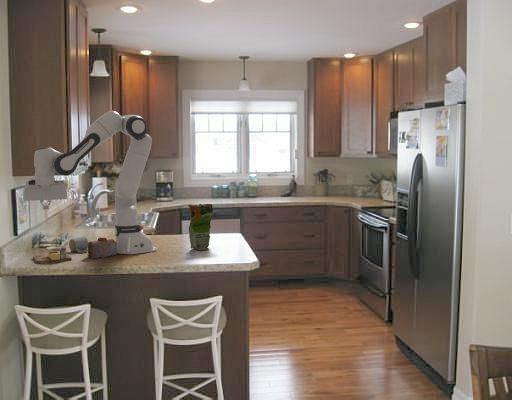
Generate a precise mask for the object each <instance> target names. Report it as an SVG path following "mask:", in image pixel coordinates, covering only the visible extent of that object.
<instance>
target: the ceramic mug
mask: <svg viewBox="0 0 512 400" xmlns="http://www.w3.org/2000/svg"><path fill="white" fill-rule="evenodd" d="M88 242H89V240H88V238H87V236H85V235H84V236H83V235H82V236H78V237H75V238H71V239H70V240H69V242H68V247H69V250H70V251H71V252H72V253H80V254H86V253H88Z"/></svg>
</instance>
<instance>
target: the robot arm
mask: <svg viewBox="0 0 512 400" xmlns="http://www.w3.org/2000/svg"><path fill="white" fill-rule="evenodd" d="M118 132H119V133H121V134H122V135H126V136H128V137H129V138H130V143H129V146H128V149H127V150H126V151H127V152H126V155H125V158H124V159H123V160H124V161H123V164H122V167H121V169H120V173H119V175H118V178H117V180H116V181H115V184H114V204H115V205H114V207H115V209H114V210H115V225H114V234H115V240H114V241H115V242H116V243H117V251H118V252H117V254H120V255H123V254H125V255H137V254H143V253H150V252H156V251H158V248H157V247H156V246H155V245H153V240H152V239H151V237H150V236H148V235H147V234H146V233H144V232H143V231H142V230H144V229H145V227H144V225H140V224H138V203H137V192H138V190H139V186H140V183H141V180H142V178H143V175H144V174H143V173H144V171H145V168H146V165H147V162H148V159H149V157H150V154H151V153H150V152H151V149H152V145H153V139H152V137H151V136H150V134H148V125H147V122H146V120H145V119H144V118H143V117H142V116H140V115H136V114H124V115H123V114H122V115H121V114H120V113H119V112H117V111H115V110H109V111H106V112H105V113H103V114H102V115H101V116H100V117H98V118H97V119H95V120H94V121H93V122H92V123H91V124H90V125H89V127H88V128H87V129H86V130H85V135H84V137H83V138H82V140H81V141H80V142H79V143H78V144H77V145H75V146H74V148H72V149H71V150H70V151H68V152H66V153H62V152H60V151H57V150H55V149H53V148H52V147H51V146H47V147H40V148H37V149H36V150H35V152H34V155H33V166H34V169H35V171H34V177H32V178H29V179H27V180H25V182H24V184H25V186H24V187H23V191H22V200H23V201H25V202H29V201H33V202H34V201H39V203H40V204H41V206H42V210H43V211H44V210H50V205H51V203H52V200H53V201H56V200H57V201H59V200H67V199H68V191H67V190H68V188H69V187H68V181H65V180H55V173H58V174H59V175H60V176H70V175H72V174H74V172H75V171H76V170H77V168H78V166H79V163H80V162H81V161H82V160H83V159H84V158H85V157H86V156H87V155H88V154H89V153H90V152H92V151H93V150H94V149H95V148H98V147H100V146H101V145H102V144H105V143H106V142H107V141H108V140H110V139H111V138H112V137H113V136H114V135H115V134H116V133H118ZM44 201H47V205H46V204H43V202H44Z"/></svg>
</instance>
